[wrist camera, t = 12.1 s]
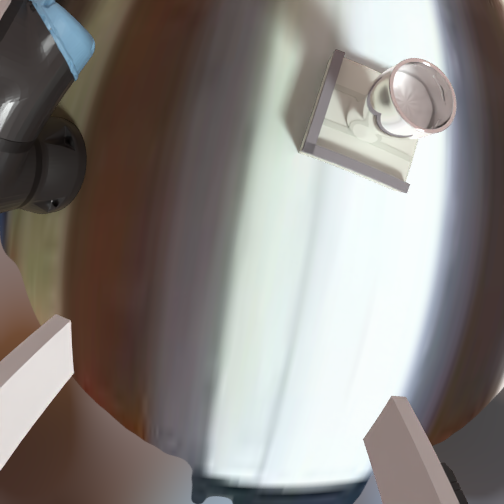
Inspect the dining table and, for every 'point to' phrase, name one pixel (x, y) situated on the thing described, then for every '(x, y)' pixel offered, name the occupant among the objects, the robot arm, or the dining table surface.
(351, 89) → the dock
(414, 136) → the beer glass
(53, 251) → the dining table surface
